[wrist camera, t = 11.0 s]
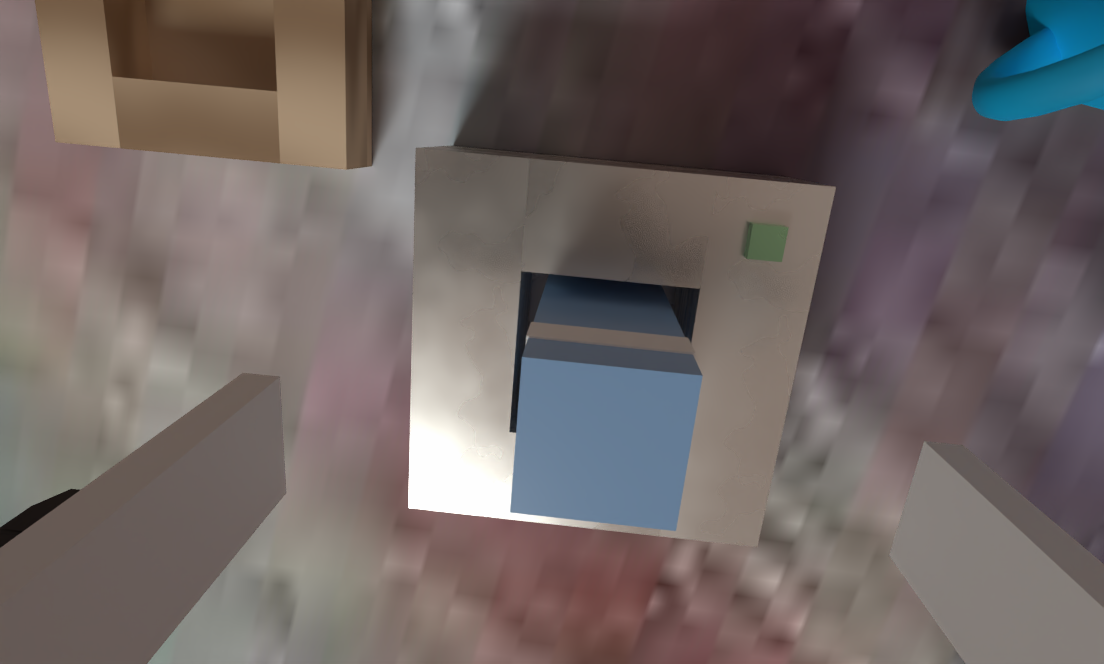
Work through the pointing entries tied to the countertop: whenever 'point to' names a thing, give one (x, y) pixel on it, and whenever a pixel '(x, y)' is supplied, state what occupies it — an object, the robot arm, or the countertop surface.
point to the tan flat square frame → (213, 77)
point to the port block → (612, 254)
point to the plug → (604, 405)
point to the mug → (1047, 63)
